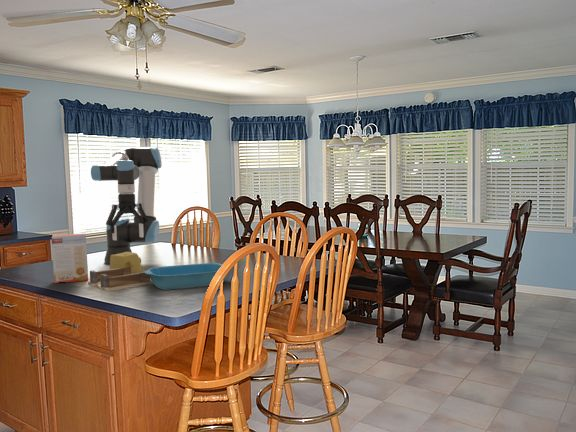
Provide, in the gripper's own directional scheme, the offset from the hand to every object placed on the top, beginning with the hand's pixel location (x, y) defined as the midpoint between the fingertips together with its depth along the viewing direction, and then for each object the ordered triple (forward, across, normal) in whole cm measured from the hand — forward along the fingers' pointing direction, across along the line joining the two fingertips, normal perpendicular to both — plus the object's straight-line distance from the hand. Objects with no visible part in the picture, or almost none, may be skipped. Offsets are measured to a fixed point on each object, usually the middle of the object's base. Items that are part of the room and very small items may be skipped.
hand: (128, 238), depth 243 cm
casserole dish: (+17, +8, -38) cm, 43 cm away
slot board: (+17, -9, -16) cm, 25 cm away
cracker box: (+17, -25, +6) cm, 31 cm away
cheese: (+17, -1, +1) cm, 17 cm away
